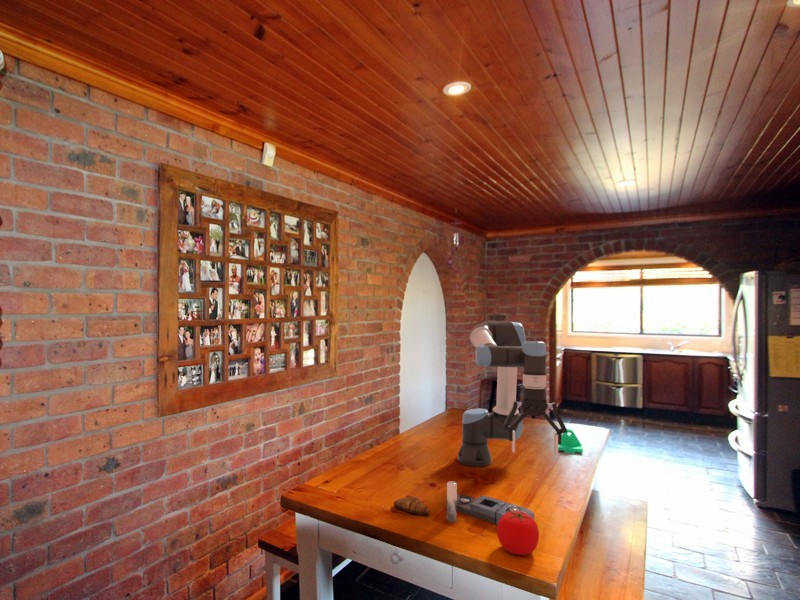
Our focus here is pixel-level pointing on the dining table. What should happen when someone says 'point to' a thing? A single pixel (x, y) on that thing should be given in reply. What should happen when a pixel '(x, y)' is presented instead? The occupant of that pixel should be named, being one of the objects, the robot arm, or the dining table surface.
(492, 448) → the dining table surface
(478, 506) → the chain end
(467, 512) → the chain end
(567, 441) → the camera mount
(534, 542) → the tomato
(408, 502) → the croissant
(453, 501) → the steel pin
